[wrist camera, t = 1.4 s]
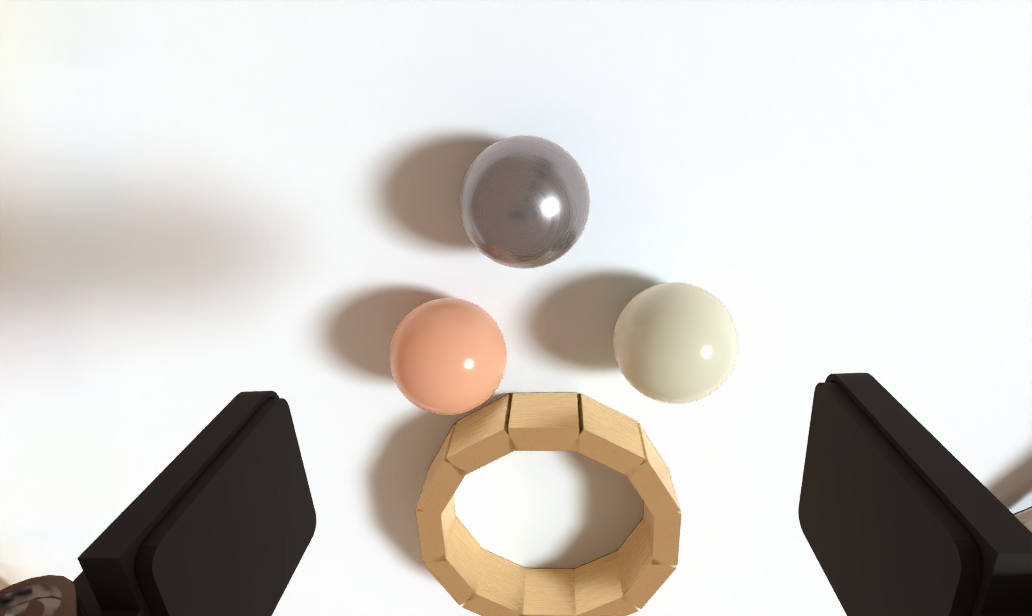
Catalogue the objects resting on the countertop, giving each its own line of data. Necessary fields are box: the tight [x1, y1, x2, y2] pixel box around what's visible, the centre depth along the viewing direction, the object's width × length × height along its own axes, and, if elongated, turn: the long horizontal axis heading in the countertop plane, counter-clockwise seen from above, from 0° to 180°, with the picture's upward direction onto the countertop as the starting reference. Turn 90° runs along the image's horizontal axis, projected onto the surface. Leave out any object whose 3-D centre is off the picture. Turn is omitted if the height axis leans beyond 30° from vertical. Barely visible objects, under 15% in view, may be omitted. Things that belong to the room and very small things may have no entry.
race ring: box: [416, 393, 681, 616], centre depth 29 cm, size 12×12×3 cm
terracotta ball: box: [389, 298, 507, 415], centre depth 25 cm, size 5×5×5 cm
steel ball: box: [459, 136, 590, 268], centre depth 23 cm, size 5×5×5 cm
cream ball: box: [613, 282, 739, 404], centre depth 24 cm, size 5×5×5 cm
